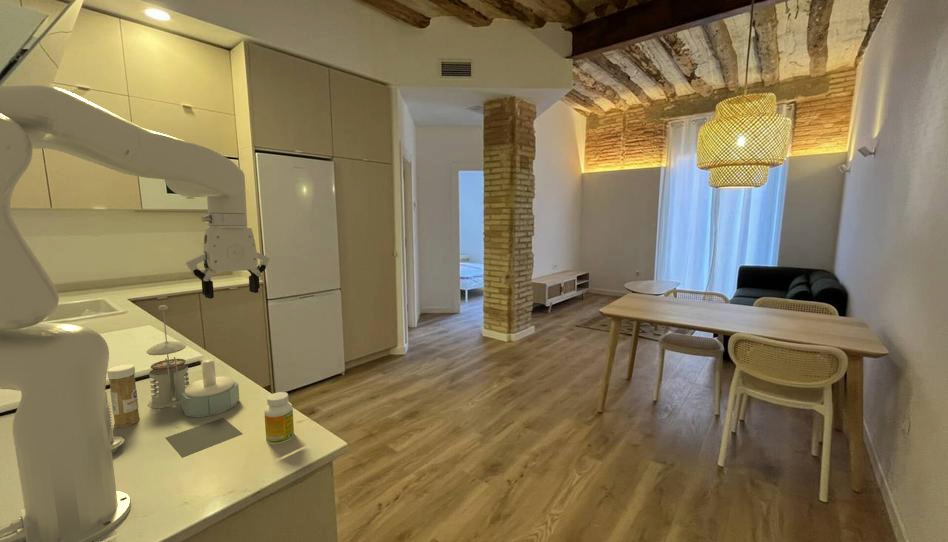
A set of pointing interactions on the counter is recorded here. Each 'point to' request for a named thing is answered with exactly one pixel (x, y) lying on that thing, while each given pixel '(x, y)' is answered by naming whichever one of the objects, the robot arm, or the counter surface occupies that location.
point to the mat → (202, 436)
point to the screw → (115, 440)
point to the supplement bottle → (279, 419)
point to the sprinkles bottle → (123, 395)
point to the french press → (167, 373)
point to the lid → (209, 382)
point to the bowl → (210, 403)
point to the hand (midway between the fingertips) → (232, 294)
